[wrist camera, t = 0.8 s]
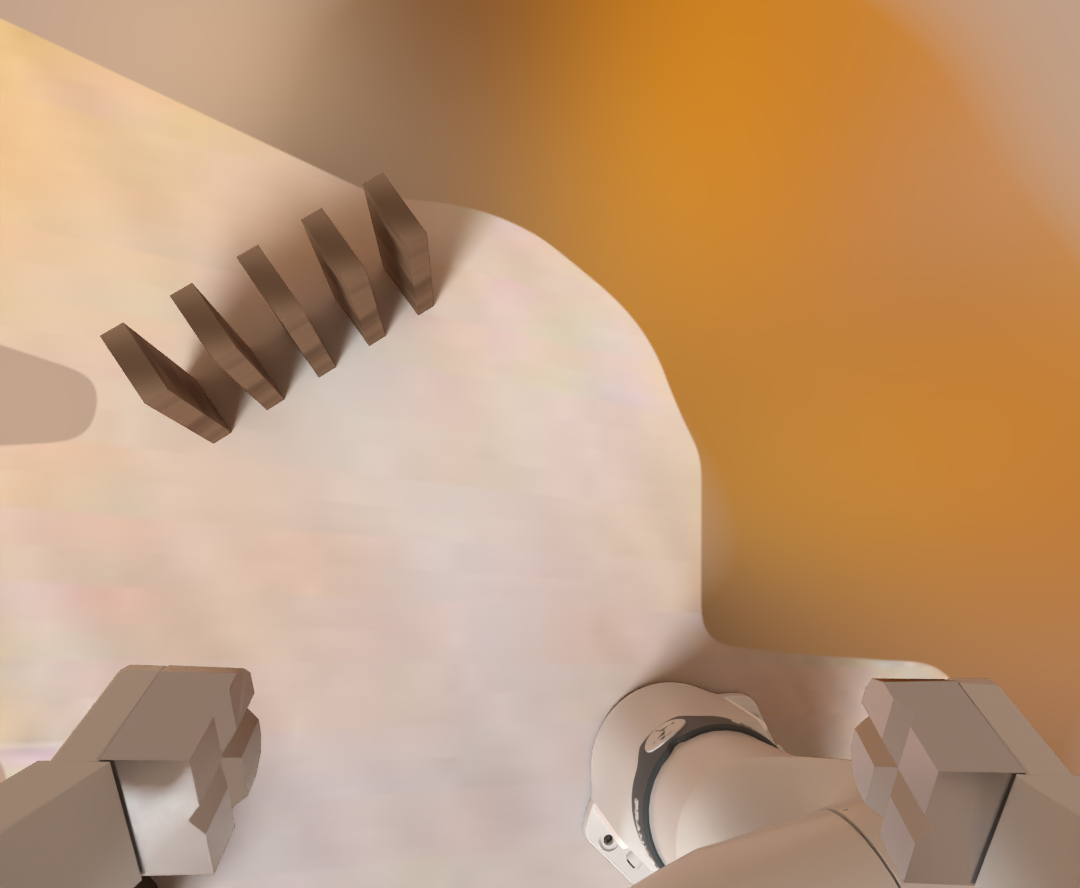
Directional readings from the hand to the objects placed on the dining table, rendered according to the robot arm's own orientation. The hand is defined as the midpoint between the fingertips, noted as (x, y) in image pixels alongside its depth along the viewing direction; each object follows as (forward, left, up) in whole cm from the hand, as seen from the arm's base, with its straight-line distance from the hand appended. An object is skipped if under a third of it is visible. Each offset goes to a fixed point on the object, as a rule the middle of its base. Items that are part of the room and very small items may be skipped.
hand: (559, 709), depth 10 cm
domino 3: (+29, -1, -59) cm, 65 cm away
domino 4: (+29, -7, -59) cm, 65 cm away
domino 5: (+29, -12, -59) cm, 66 cm away
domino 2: (+29, +4, -59) cm, 65 cm away
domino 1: (+29, +10, -59) cm, 66 cm away
